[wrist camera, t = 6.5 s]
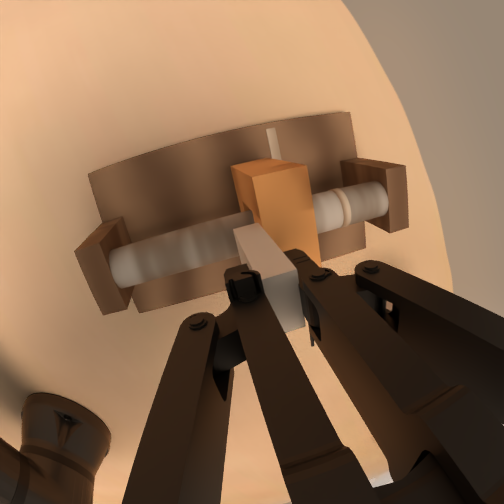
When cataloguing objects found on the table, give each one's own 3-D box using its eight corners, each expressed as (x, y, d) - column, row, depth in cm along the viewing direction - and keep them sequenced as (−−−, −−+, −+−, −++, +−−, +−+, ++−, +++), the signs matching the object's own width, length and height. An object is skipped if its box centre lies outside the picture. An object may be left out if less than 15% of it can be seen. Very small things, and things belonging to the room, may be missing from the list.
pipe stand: (140, 307, 28) (128, 362, 20) (92, 172, 22) (51, 186, 15) (360, 244, 30) (407, 276, 23) (343, 112, 25) (398, 106, 17)
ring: (252, 262, 25) (280, 314, 18) (230, 166, 22) (252, 177, 14) (285, 252, 26) (324, 299, 18) (266, 157, 22) (306, 165, 15)
